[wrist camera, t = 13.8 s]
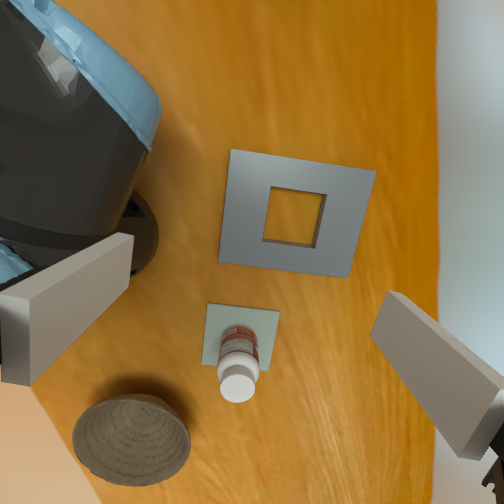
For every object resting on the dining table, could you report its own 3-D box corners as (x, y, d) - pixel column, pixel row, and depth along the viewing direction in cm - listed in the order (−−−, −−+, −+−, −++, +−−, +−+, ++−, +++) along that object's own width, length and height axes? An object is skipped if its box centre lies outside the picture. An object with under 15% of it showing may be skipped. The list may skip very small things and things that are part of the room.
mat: (201, 362, 49) (201, 364, 48) (208, 302, 45) (207, 303, 45) (268, 369, 49) (268, 371, 49) (279, 310, 46) (280, 312, 45)
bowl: (188, 360, 48) (177, 396, 41) (204, 437, 54) (198, 482, 46) (84, 371, 49) (55, 409, 41) (112, 447, 54) (90, 493, 47)
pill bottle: (250, 357, 48) (252, 412, 37) (216, 349, 47) (208, 401, 37) (262, 328, 46) (267, 376, 36) (227, 318, 46) (221, 365, 35)
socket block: (219, 257, 43) (218, 262, 41) (231, 149, 38) (230, 148, 36) (343, 273, 44) (347, 278, 42) (370, 170, 39) (376, 171, 37)
